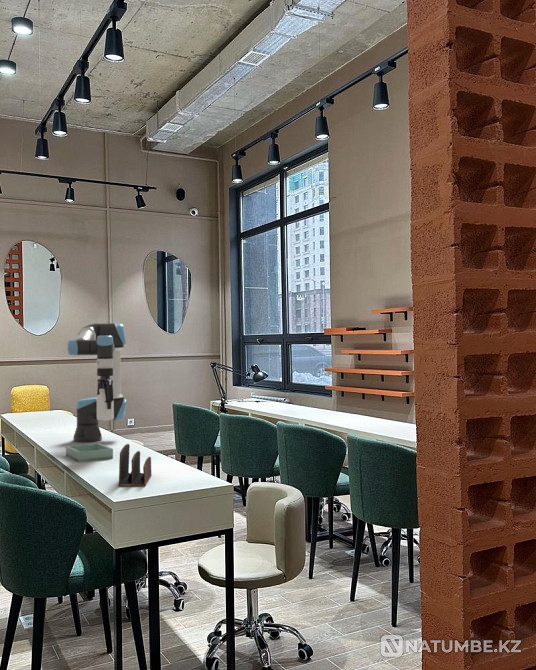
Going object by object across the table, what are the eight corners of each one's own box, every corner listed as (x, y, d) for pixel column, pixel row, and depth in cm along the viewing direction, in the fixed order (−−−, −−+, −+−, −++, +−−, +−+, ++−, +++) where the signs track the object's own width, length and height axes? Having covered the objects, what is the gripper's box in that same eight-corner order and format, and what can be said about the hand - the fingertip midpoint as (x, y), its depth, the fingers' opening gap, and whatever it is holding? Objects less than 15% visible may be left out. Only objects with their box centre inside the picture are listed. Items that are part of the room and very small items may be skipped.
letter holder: (118, 487, 244) (118, 449, 244) (127, 476, 263) (127, 441, 264) (145, 486, 244) (145, 449, 244) (151, 476, 264) (151, 441, 264)
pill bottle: (93, 420, 310) (93, 388, 310) (104, 418, 317) (104, 387, 317) (106, 421, 306) (106, 389, 306) (117, 419, 313) (117, 388, 313)
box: (66, 455, 311) (66, 446, 311) (98, 452, 320) (98, 443, 320) (78, 462, 294) (78, 452, 294) (112, 458, 303) (112, 448, 303)
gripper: (89, 367, 318) (90, 413, 318) (105, 368, 301) (105, 417, 301) (104, 366, 322) (104, 412, 322) (120, 368, 305) (120, 416, 305)
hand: (105, 415), depth 311 cm, fingers closed on pill bottle, 8 cm apart
